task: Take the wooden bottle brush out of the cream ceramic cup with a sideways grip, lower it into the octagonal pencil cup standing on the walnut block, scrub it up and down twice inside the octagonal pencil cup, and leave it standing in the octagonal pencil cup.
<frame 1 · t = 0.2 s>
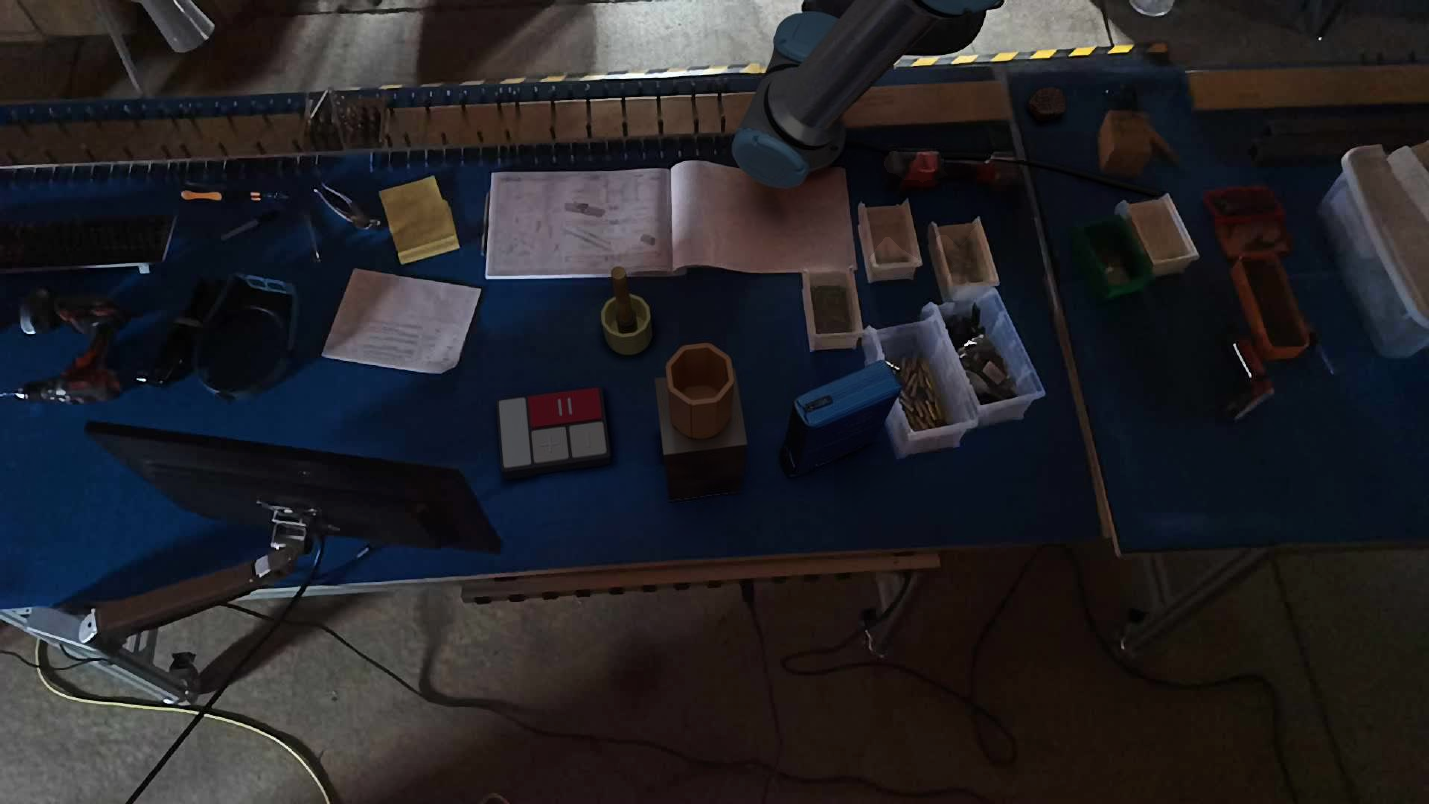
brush: (628, 332, 127), resting on rinse cup
rinse cup: (629, 334, 128), on the table
book: (825, 449, 121), on the table
stone: (1043, 110, 146), on the table
button panel: (556, 436, 121), on the table
octagonal pencil cup: (700, 410, 101), resting on stand
stand: (700, 464, 120), on the table
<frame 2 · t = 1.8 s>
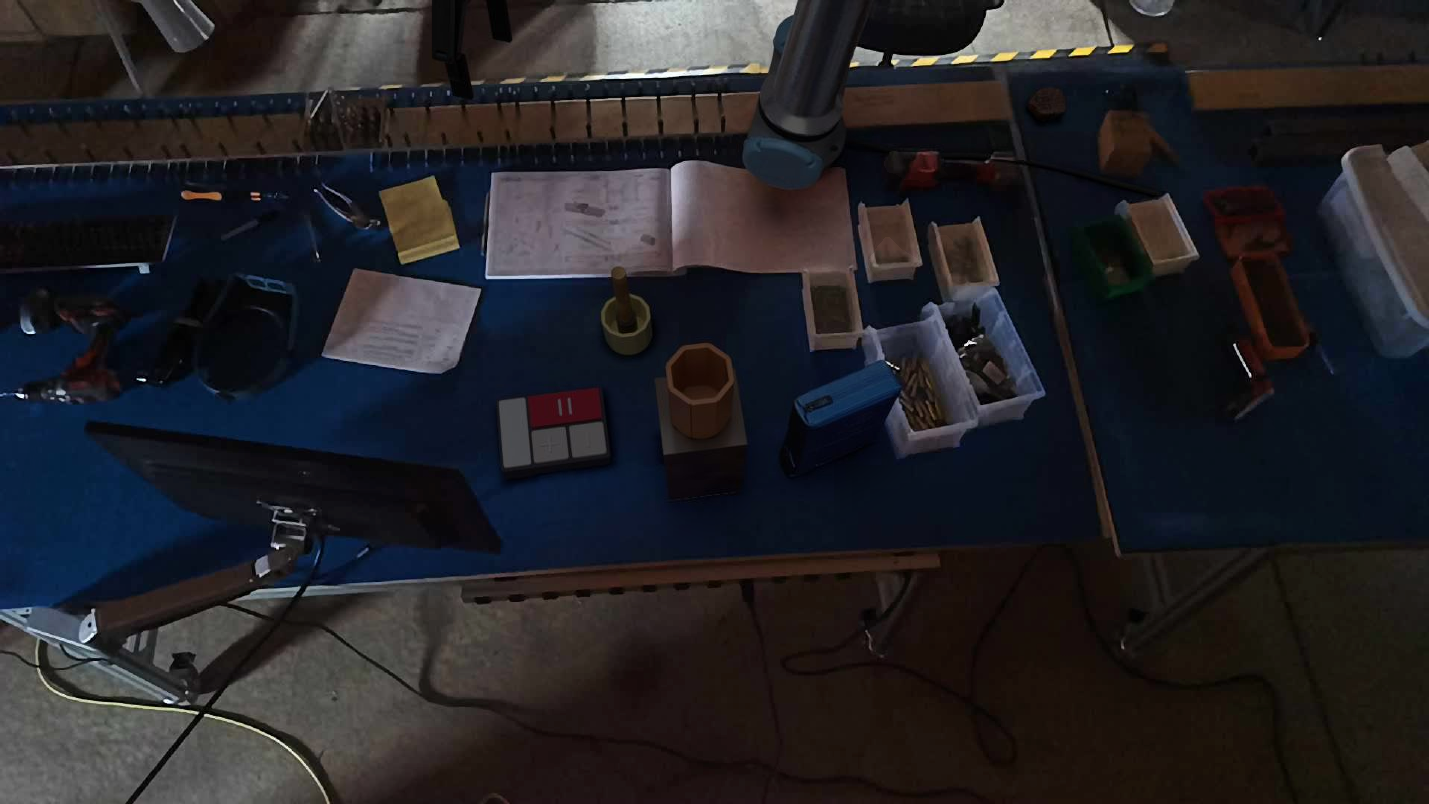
hand: (483, 67, 118), 23 cm above the table, tool pointing down, fingers open, 13 cm apart
nothing on the table moved.
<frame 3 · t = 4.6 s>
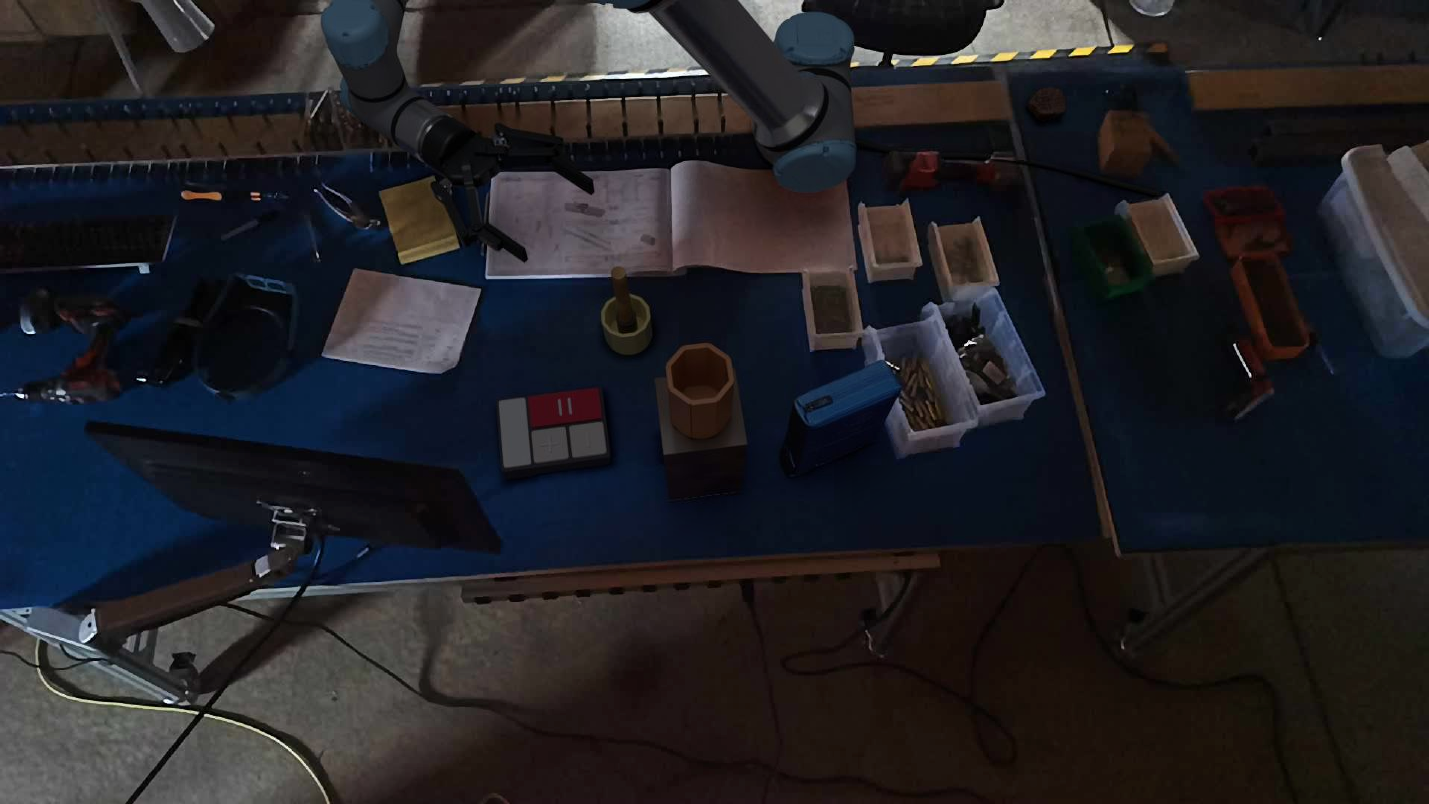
hand: (559, 221, 111), 20 cm above the table, tool horizontal, fingers open, 13 cm apart
nothing on the table moved.
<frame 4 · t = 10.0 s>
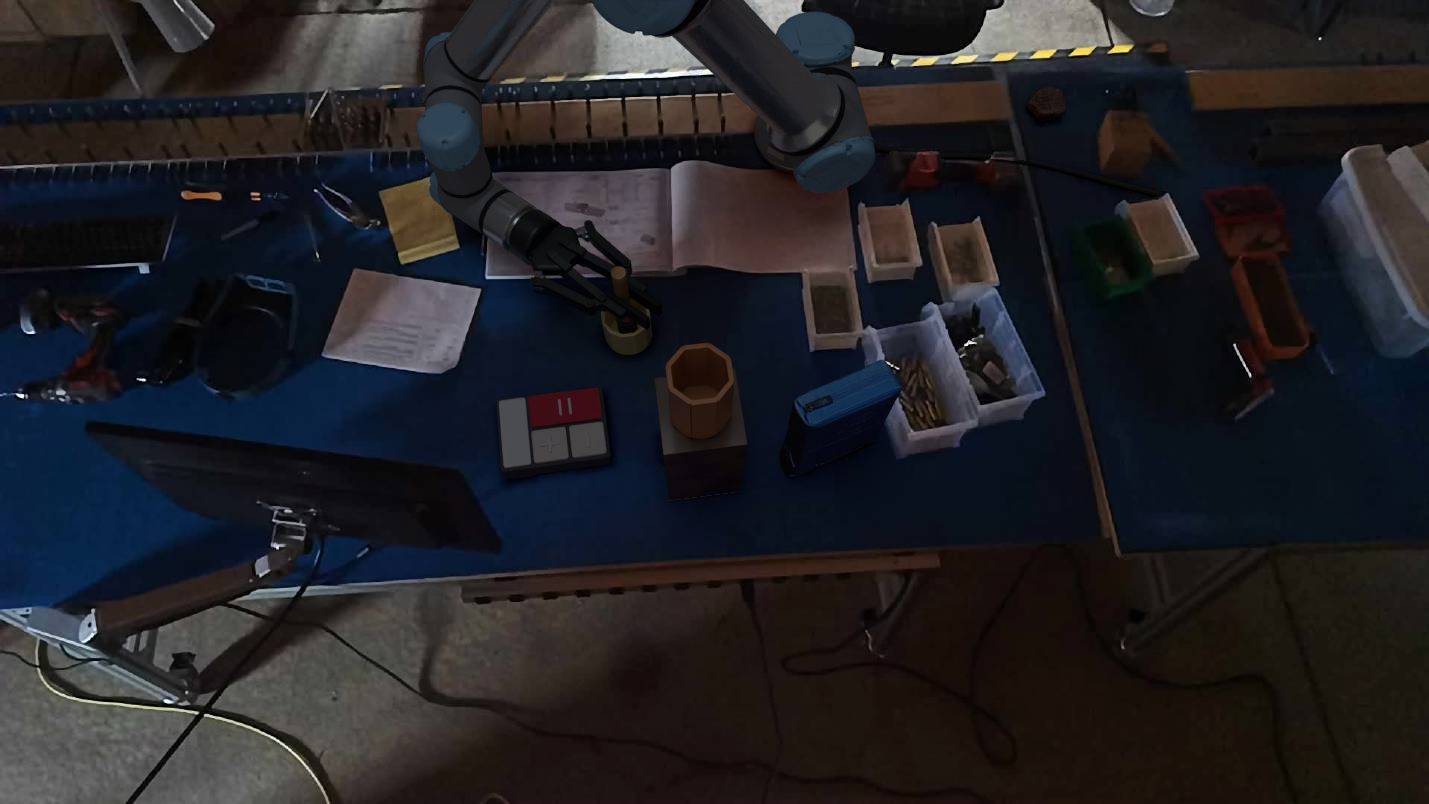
hand: (653, 316, 116), 12 cm above the table, tool horizontal, fingers closed on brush, 2 cm apart
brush: (628, 332, 127), resting on rinse cup, touching gripper
everything else where it was.
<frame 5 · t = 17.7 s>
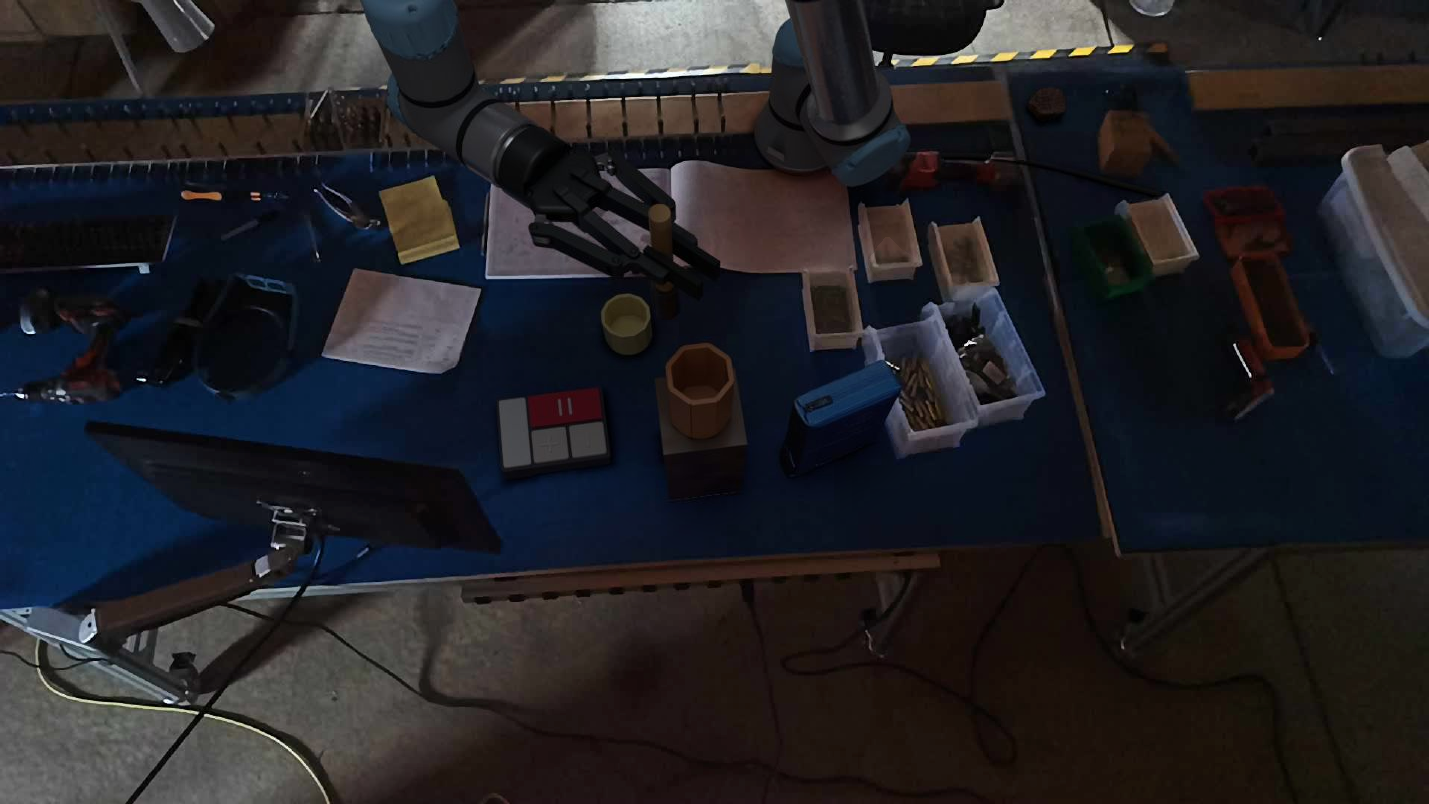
hand: (708, 280, 79), 45 cm above the table, tool horizontal, fingers closed on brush, 2 cm apart
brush: (666, 307, 91), point 34 cm above the table, touching gripper
everything else where it was.
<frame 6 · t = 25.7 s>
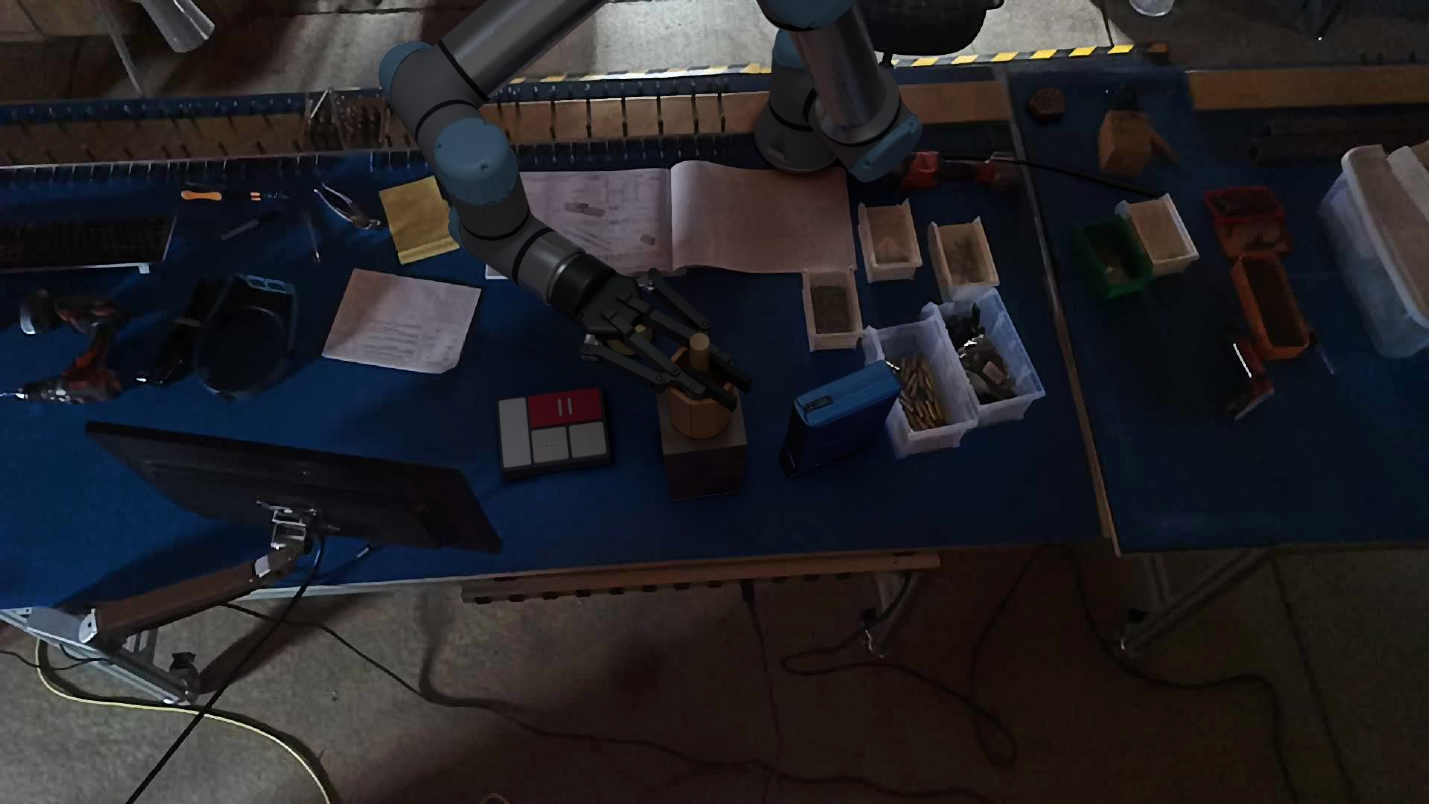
hand: (742, 395, 89), 32 cm above the table, tool horizontal, fingers closed on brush, octagonal pencil cup, 2 cm apart
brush: (699, 407, 100), point 21 cm above the table, touching gripper
everything else where it was.
when the fingers open (32 cm above the table, at t = 25.7 s): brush stays where it is, resting on octagonal pencil cup.
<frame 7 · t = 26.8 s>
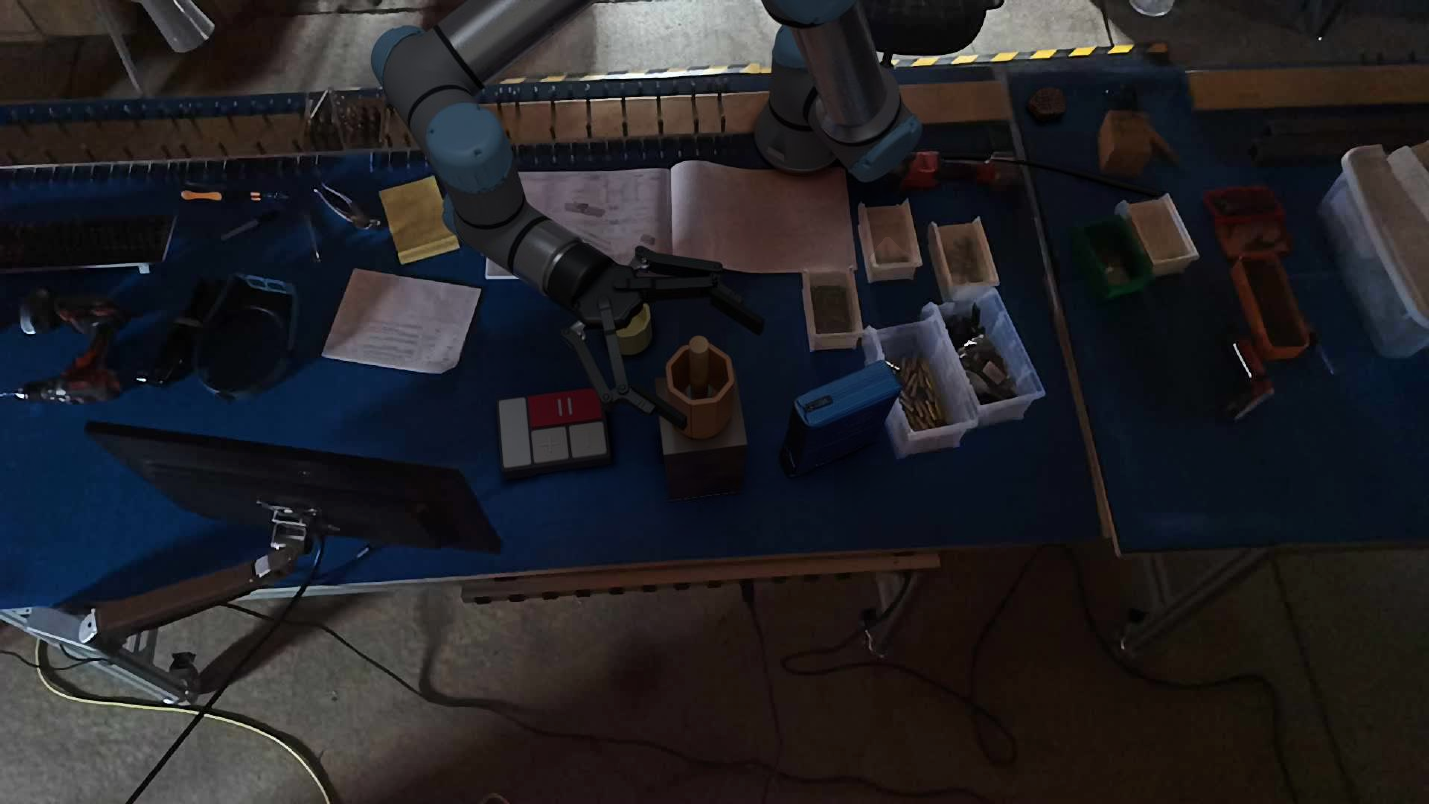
hand: (724, 374, 87), 34 cm above the table, tool horizontal, fingers open, 13 cm apart
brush: (699, 409, 101), point 21 cm above the table, touching octagonal pencil cup
everything else where it was.
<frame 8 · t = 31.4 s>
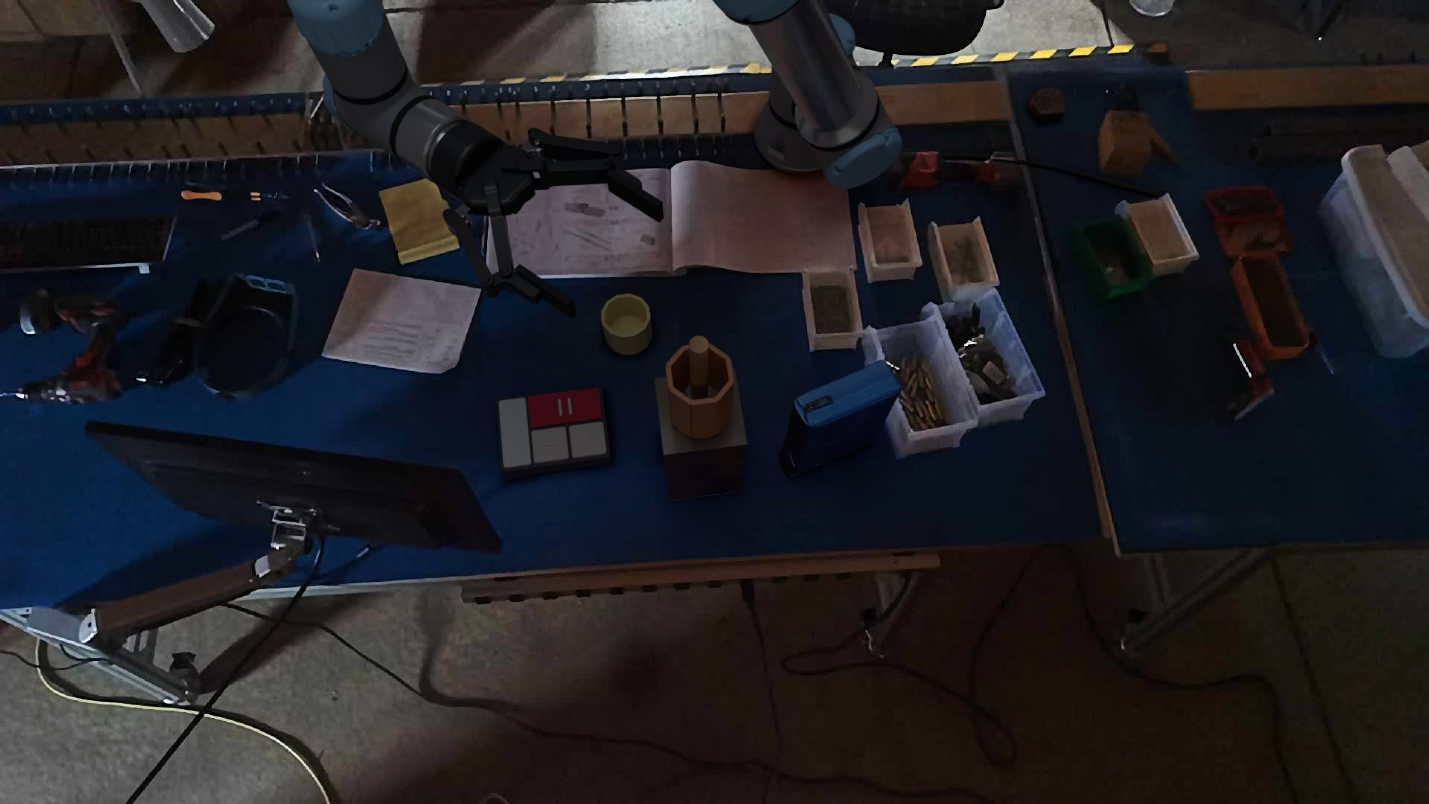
hand: (618, 260, 81), 44 cm above the table, tool horizontal, fingers open, 13 cm apart
nothing on the table moved.
at the end: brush 0.1 cm off-centre on the octagonal pencil cup, point 0.6 cm above the octagonal pencil cup's base; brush tilted 0°; the gripper is holding nothing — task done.
